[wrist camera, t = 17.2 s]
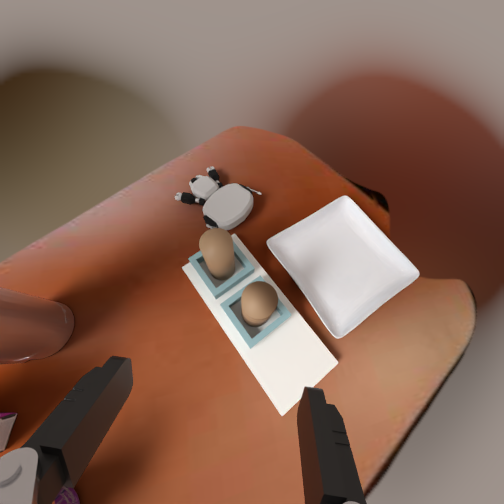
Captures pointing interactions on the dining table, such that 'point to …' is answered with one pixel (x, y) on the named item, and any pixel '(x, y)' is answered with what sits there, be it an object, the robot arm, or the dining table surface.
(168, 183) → the dining table surface
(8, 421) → the candy bar box
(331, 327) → the salad plate
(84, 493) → the dining table surface
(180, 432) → the dining table surface
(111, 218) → the dining table surface
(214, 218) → the robot toy
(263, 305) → the walnut column
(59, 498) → the beverage can
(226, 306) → the base board
